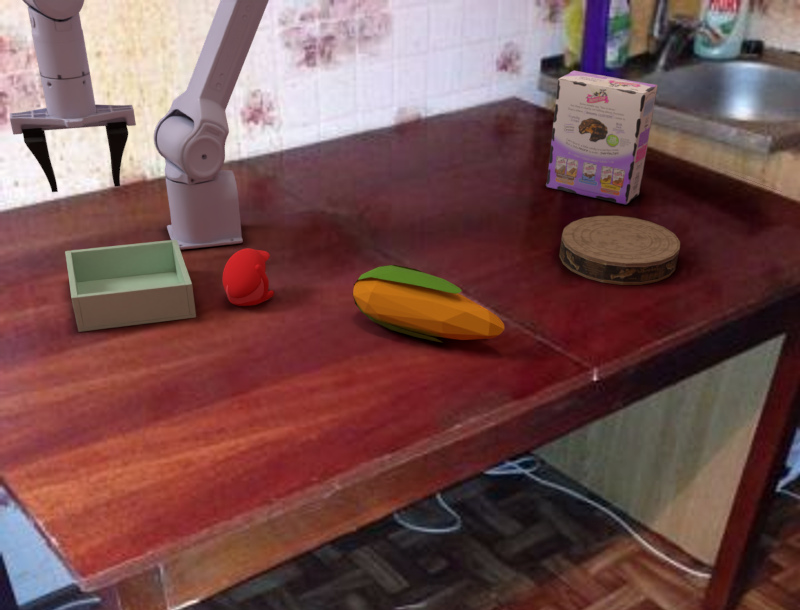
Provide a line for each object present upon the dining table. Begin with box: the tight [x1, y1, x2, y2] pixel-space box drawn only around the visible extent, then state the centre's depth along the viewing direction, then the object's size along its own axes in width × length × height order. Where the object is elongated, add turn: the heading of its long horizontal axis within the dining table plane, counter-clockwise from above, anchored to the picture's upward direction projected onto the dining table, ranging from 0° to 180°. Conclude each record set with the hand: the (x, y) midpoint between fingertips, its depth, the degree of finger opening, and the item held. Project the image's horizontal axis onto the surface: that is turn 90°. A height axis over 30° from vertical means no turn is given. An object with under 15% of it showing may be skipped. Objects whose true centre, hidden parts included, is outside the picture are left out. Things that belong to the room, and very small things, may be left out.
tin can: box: [558, 215, 681, 286], centre depth 135 cm, size 16×16×3 cm
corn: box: [352, 264, 505, 344], centre depth 116 cm, size 7×8×20 cm
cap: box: [222, 247, 275, 307], centre depth 122 cm, size 8×6×6 cm
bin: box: [64, 239, 197, 333], centre depth 122 cm, size 14×13×4 cm
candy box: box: [545, 70, 658, 206], centre depth 150 cm, size 14×6×16 cm, turn 58°
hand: (85, 186), depth 126 cm, fingers open, 7 cm apart
